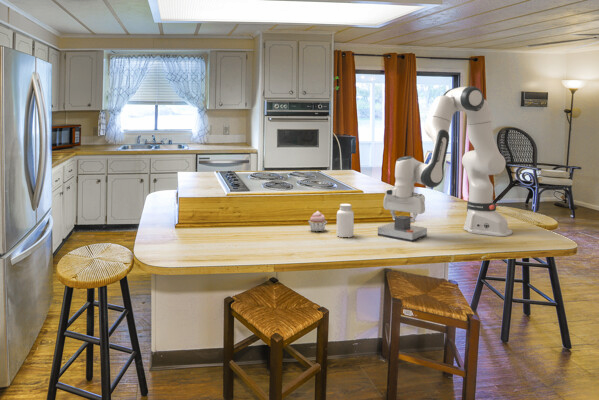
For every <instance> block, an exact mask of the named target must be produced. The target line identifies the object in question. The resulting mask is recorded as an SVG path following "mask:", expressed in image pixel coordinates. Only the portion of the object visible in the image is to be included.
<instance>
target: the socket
mask: <svg viewBox="0 0 599 400" xmlns="http://www.w3.org/2000/svg"><path fill="white" fill-rule="evenodd" d="M394 225H395V221H394V222H390V223H386V224H384V225H380V226H378V227H377V236H378V237H383V238H389V239H395V240H400V241H405V242H410V243H413V242H416V241H418V240H421V239H423V238H426V237H427V235H428V228H427V227H424V226H423V227H422V226H419V225H418V226H417V225H412V224H410V228H407V229H405V230H403V229H398V228H394Z"/></svg>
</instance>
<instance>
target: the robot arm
mask: <svg viewBox="0 0 599 400" xmlns="http://www.w3.org/2000/svg"><path fill="white" fill-rule="evenodd" d="M456 112H464V113H465V115H466V123H467V124H466V126H467V137H468V141H469V143H471V145H472V147H473V150H469V151H466V152H465V153H464V154H463V156H462V158H461V164H462V167H463V168H464V169H465V171H466V176H467V179H468V180H467V181H468V200H467V205H466V217H465V222H464V225H463V228H462V229H463V230H464V231H467V232H468V233H470V234H477V235H478V234H479V235H486V236H496V237H508V236H510V235H512V234H513V230H512V229H509V226H508V225H509V224H508V220H507V219H506V218H505V217H504V216H503V215H502V214H501V213H499V212H498V211H497V207H498V204H497V203H496V204H495V203H494V202H493V199H494V198H493V197H494V185H493V183H492V182H491V179H490V176H493V175H494V176H495V175H499V174H501V173H502V172H503V171H504V170H505V167H506V165H507V164H506V158H505V157H504V155H502V153H500V152H501V151H499V148H498V146H497V143H496V141H495V137H494V130H493V121H492V113H491V108H490V105H489V102H488V101H487V99H485V98H484V94H483V92H482V90H481V89H480V88H479V87H477V86H474V85H473V86H471V85H470V86H459V87H454V88H450V89H448V90H446V91H445V92H444V93H443V95H439V96H438V95H437V96H436V97H435V98H434V100H433V102H432V104H431V106H430V109H429V111H428V113H427V116H426V119H425V122H424V132H425V133H426V135H427V136H428V137H429V138H430V139H431V140H432V143H433V148H432V153H431V157H430V160H429V163H424V162H421V161H419V160H417V159H416V158H414V157H413V156H411V155H409V156H408V155H407V156H405V155H404V156H401V157H398V158H397V160H396V162H395V167H394V178H395V182H394V187H392V188H389V189H386V190H384V194H385V195H384V197H383V202H382V203H383V204H382V205H383V208H384V210H388V211H390V215H391V216H392V220H393V221H395V217H398V215H396V212H404V213H410V214H412V217H411V219H410V220H411V221H410V222H411V223H413V224H414V223H416V218H417V216H418V215H422V214H424V213H426V204H425V203H426V202H425V200H426V198H425V195H424V194H423V193H419V192H418V193H417V192H415V184H420V185H422V186H426V187H429V188H436V187H439V186H440V185H441V183H442V182H443V180H444V177H445V171H444V170H445V162H446V158H447V153H448V149H449V144H450V143H449V142H450V135H449V132H450V127H451V124H452V120H453V116H454V115H455V113H456Z"/></svg>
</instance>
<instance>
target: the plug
mask: <svg viewBox="0 0 599 400" xmlns="http://www.w3.org/2000/svg"><path fill="white" fill-rule="evenodd" d="M411 218H412V217H411V216H409V215H407V216H406V215H397V217H395V220H394V223H395V225H394V228H398V229H403V230H405V229H407V228H410V225H412V224H411V223H412V222H410V221H411V220H410V219H411Z"/></svg>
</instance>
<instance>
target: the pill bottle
mask: <svg viewBox="0 0 599 400" xmlns="http://www.w3.org/2000/svg"><path fill="white" fill-rule="evenodd" d="M354 217H355V213H354V210H352V204H351V203H340V204H339V210H337V212H336V236H337V237H338V236H339V237H338V238H343V237H348V238H351V237H354V231H355V230H354V226H355V225H354V224H355V223H354V222H355V219H354Z"/></svg>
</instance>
